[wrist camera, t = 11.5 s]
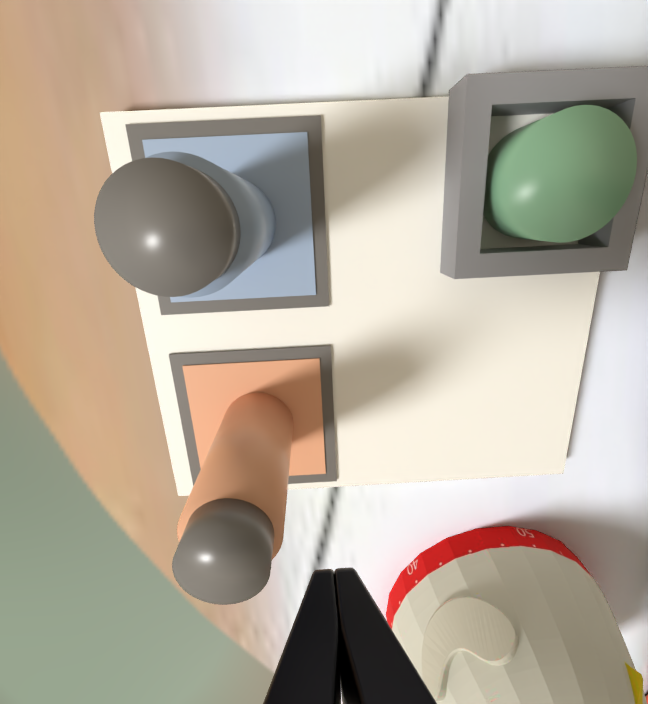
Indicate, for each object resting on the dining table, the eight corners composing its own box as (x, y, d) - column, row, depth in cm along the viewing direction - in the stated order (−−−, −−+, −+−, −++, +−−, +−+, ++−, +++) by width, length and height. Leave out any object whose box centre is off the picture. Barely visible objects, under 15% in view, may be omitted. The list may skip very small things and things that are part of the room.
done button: (591, 121, 16) (649, 101, 14) (573, 235, 18) (622, 239, 15) (482, 126, 16) (517, 107, 14) (473, 240, 18) (504, 245, 15)
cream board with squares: (616, 89, 17) (677, 64, 14) (553, 463, 24) (586, 497, 21) (110, 112, 17) (69, 92, 14) (183, 484, 23) (166, 521, 20)
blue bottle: (272, 176, 17) (234, 138, 8) (278, 262, 18) (250, 306, 10) (187, 179, 17) (62, 143, 8) (199, 265, 18) (99, 311, 9)
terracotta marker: (290, 390, 20) (274, 518, 12) (295, 451, 21) (284, 608, 13) (219, 394, 20) (151, 525, 12) (228, 454, 21) (173, 614, 13)
